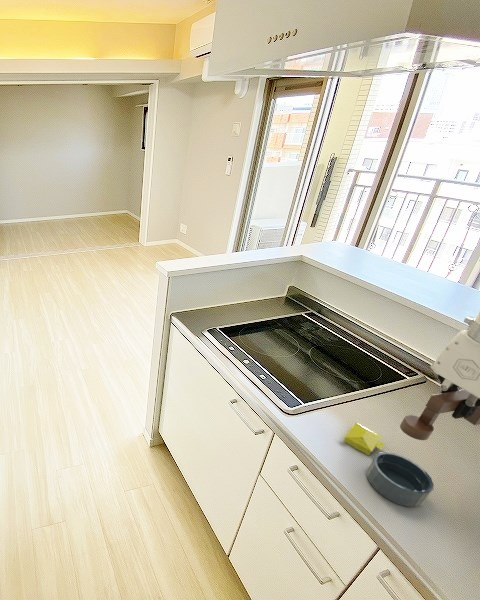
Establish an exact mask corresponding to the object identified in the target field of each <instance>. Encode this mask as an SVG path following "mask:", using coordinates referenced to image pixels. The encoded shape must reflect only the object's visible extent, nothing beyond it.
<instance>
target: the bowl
mask: <svg viewBox="0 0 480 600" xmlns="http://www.w3.org/2000/svg"><path fill="white" fill-rule="evenodd" d="M365 474H366V478H367V480H368V481H369V483H370V485H371V487H373V488H374V490H375V491H377V492H378V493H379V494H380V495H381V496H382V497H384V498H385V499H387V500H389V501H391V502H393V503H394V504H398V505H401V506H404V507H412V508H415V507H420V506H421V505H423V504H424V503H425V502H426V500H427V499H428V498H429V496H430V495H431V494H432V492H433V491H434V487H435V484H434V482H433V478H432V477H431V476H430V474H429V473H428V472H427V471H426V470H425V469H423V468H422V467H421V466H420V465H419V464H417V462H414V461H413V460H411V459H409V458H407V457H405V456H403V455H402V454H401V455H400V454H397V453H395V452H389V451H380V452H377V453H375V454H373V457H372V459H371V460H370V462H369V464H368V466H367V468H366V471H365Z"/></svg>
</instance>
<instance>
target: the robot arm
mask: <svg viewBox="0 0 480 600" xmlns="http://www.w3.org/2000/svg"><path fill="white" fill-rule="evenodd" d="M463 322H464V323H465V324H467V325H468V327H467V329H462V330H459V332H458V333H457V334H456V335H455V336H454V337H453V338H452V339H451V340H450V341H449V342H448V343H447V345H445V347H444V348H443V350H442V351H441V352H440V353H439V355H438V356H437V358H436V359H435V361H434V363H432V364H430V366H429V367H430V369H431V370H432V372H434V374H435V375H436V376H437V378H438V380H439V383H440V387H439V388H440V390H441V391H440V393H439V394H441V393H447V392H453V391H459V390H460V389H461V390H465V391H467V392H469V393H470V395H469V396H468V398H467V400H466V401H465V402H461V403H460V404H459V405H458V407H457V408H456V410H455V411H452V414H451V417H452V418H454V419H455V420H457V419H464V417H465V418H468V417H470V416H472V415H473V413H474V412H475V410H476V409H477V408H478V406H480V310H479V312H478V313H477V315H475V317H472V316H467V317H465V318H464V320H463ZM459 388H460V389H459Z"/></svg>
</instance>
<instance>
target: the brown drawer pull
mask: <svg viewBox="0 0 480 600" xmlns="http://www.w3.org/2000/svg"><path fill="white" fill-rule="evenodd" d="M458 390H459V391H453V392H447V393H441V392H440V393H441V394H440V393H435V394H431V395H430V397H429V399H428V400H427V403H426V404H425V408H424V409H423V411H422V413H421V414H420V416H418V415H414V414H408V415H405V416H404V417H403V419H402V421H401V423H400V425H399V428H400V430H401V431H402V432H403V433H404V434H405V435H406V436H408V437H410V438H411V439H415V440H417V441H418V440H419V441H427V440H429V439H430V436H431V435H432V434H433V432H434V431H435V427H434V425H433V424H434V423H435V422H436V420H437V419H438V417H439V416H440V414H444V413H445V414H446V413H450V412H454V411H455V410H456V408H457V407H458V405H459V404H460V403H461V402H465V401H466V400H467V398H468V396H469V395H470V393H469V392H467V391H465V390H464V389H458ZM463 419H464V420H466V421H467V422H469V423H470V424H472V425H473V426H477V425H478V426H479V425H480V406H478V408H477V409H476V410H475V412H474V413H473V415H472V416H470V417H468V418H465V417H463Z"/></svg>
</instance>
